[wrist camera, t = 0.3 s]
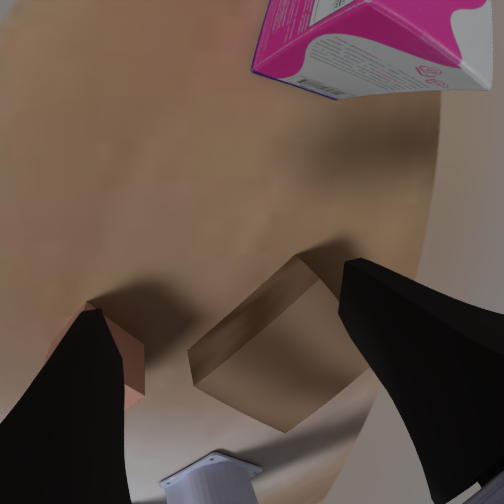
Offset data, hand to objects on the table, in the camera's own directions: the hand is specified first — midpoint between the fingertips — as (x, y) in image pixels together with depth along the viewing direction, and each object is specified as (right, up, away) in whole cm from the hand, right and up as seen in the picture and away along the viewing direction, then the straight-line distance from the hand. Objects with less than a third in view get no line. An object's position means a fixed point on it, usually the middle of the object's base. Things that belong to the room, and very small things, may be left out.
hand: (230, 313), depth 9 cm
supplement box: (+4, +14, +7) cm, 16 cm away
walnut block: (+3, -5, +15) cm, 16 cm away
